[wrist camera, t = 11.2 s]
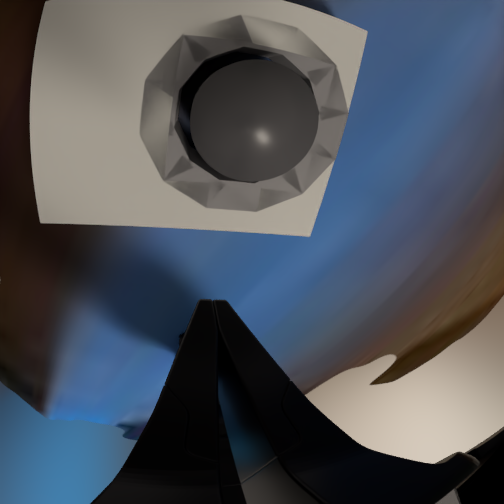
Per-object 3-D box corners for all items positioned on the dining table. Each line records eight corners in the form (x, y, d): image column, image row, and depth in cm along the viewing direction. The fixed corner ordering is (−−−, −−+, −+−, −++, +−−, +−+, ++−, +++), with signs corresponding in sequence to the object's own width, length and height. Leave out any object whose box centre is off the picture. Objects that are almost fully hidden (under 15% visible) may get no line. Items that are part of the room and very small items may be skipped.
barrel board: (296, 215, 21) (310, 236, 18) (57, 202, 16) (40, 223, 14) (343, 35, 13) (368, 31, 11) (66, 9, 8) (45, 1, 6)
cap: (275, 159, 18) (300, 188, 14) (185, 148, 16) (182, 175, 12) (296, 75, 15) (331, 78, 11) (201, 57, 13) (202, 49, 9)
